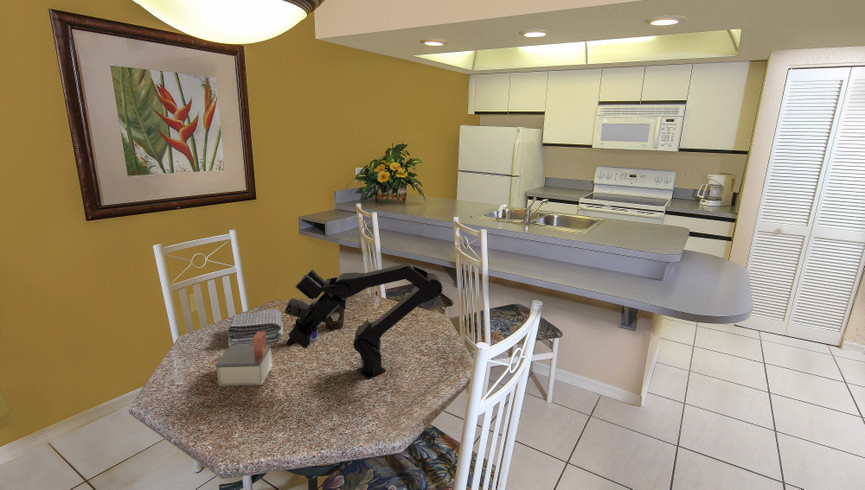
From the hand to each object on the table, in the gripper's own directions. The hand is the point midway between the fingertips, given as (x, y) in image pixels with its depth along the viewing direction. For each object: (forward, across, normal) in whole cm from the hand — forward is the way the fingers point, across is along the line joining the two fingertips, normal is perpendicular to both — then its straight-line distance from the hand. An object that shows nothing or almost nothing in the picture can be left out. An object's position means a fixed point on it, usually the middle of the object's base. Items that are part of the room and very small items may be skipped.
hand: (287, 344), depth 127 cm
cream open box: (+16, 0, -2) cm, 16 cm away
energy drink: (+6, -23, +8) cm, 25 cm away
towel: (+20, -27, -6) cm, 34 cm away
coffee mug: (+2, -34, +12) cm, 36 cm away
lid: (+11, 0, -7) cm, 13 cm away
